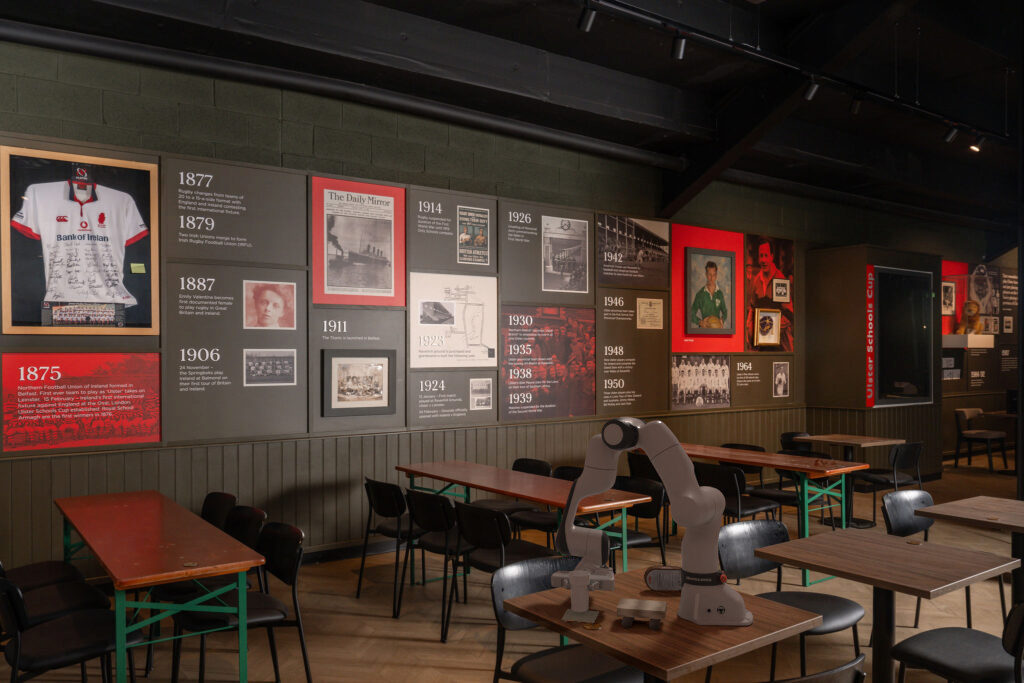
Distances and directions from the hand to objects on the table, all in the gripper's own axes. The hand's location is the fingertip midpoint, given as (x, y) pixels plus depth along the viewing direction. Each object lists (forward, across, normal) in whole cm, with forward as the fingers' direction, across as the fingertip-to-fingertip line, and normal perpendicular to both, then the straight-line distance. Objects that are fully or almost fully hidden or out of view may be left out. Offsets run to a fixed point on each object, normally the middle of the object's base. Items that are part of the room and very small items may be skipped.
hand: (579, 587), depth 231 cm
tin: (-36, +24, +10) cm, 44 cm away
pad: (-1, 0, +9) cm, 9 cm away
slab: (0, +19, +9) cm, 21 cm away
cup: (-1, 0, +7) cm, 7 cm away
